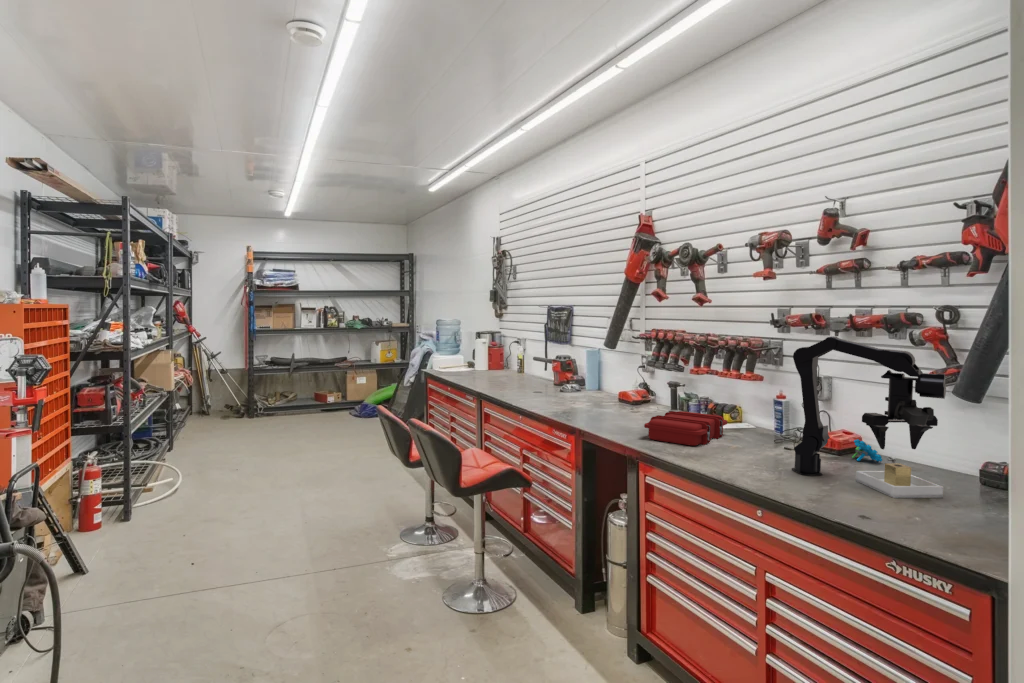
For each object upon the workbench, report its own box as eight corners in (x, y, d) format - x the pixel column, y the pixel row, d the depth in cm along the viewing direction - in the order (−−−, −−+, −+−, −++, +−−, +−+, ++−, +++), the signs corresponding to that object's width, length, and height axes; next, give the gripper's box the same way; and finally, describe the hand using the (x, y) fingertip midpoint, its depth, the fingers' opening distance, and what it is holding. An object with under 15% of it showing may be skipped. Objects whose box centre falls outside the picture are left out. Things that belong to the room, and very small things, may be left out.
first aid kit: (699, 449, 214) (700, 426, 214) (641, 440, 229) (642, 418, 228) (728, 435, 239) (729, 414, 239) (674, 428, 254) (675, 408, 253)
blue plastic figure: (889, 460, 192) (866, 438, 193) (876, 473, 192) (853, 451, 193) (871, 457, 203) (850, 436, 204) (859, 469, 203) (837, 448, 204)
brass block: (895, 488, 164) (895, 467, 164) (884, 483, 169) (884, 463, 168) (910, 488, 164) (911, 467, 164) (898, 483, 169) (899, 463, 168)
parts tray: (893, 497, 158) (893, 487, 158) (855, 480, 174) (856, 471, 174) (942, 497, 159) (943, 486, 159) (900, 480, 175) (901, 470, 175)
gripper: (888, 399, 157) (885, 456, 158) (954, 399, 158) (951, 456, 159) (861, 393, 168) (859, 446, 169) (923, 393, 169) (921, 446, 170)
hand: (897, 449), depth 166 cm, fingers open, 9 cm apart
